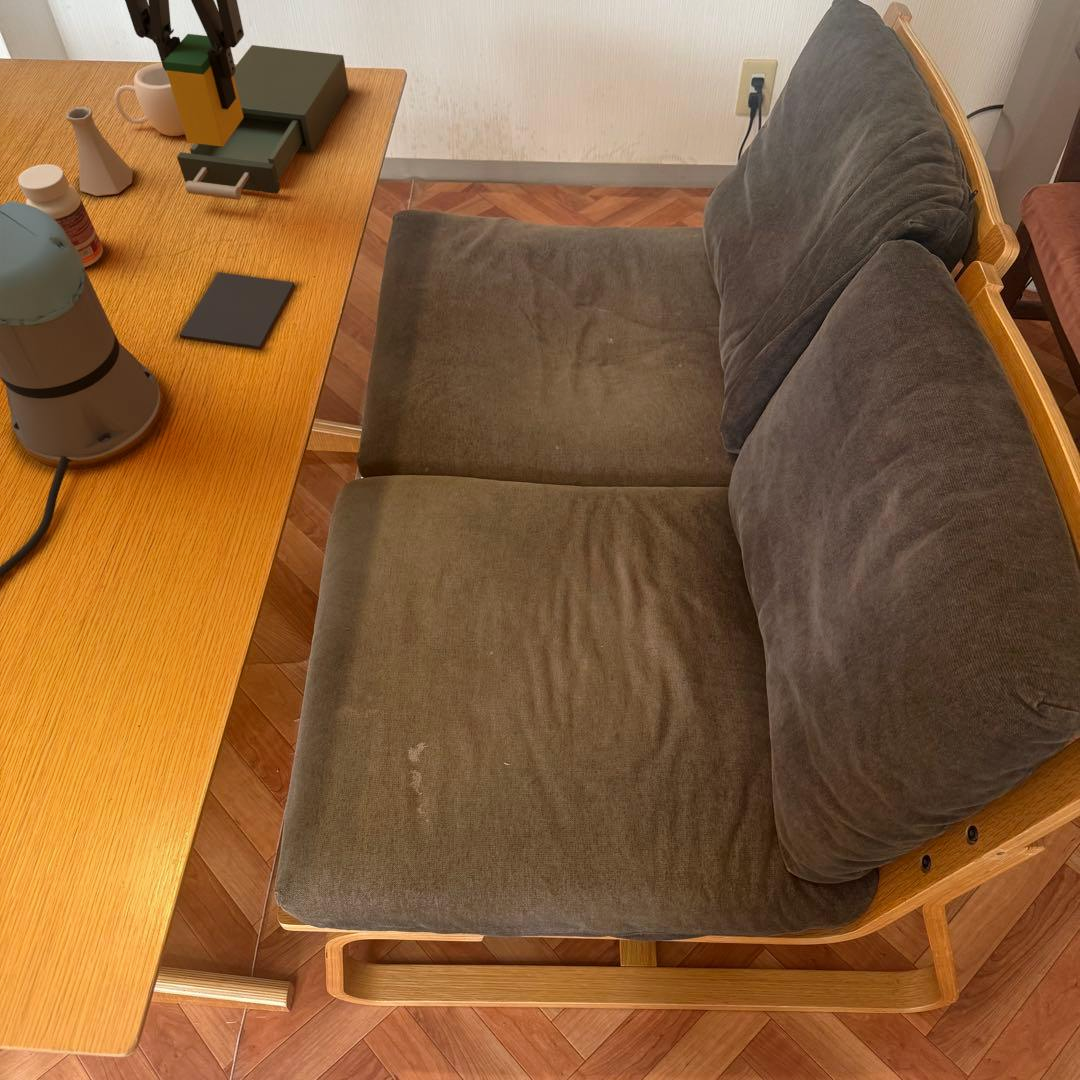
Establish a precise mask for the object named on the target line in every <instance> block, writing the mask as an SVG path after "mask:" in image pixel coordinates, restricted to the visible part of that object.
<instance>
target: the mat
mask: <svg viewBox="0 0 1080 1080" xmlns="http://www.w3.org/2000/svg"><path fill="white" fill-rule="evenodd" d="M295 285H296V284H295V282H293V281H286V280H280V279H279V280H278V279H272V278H264V277H256V276H251V275H242V274H235V273H227V272H217V274H216V276H215V277H214V278H213V280H212V282H211V283H210V285H209V287H208V288H207V290H206V291H205V292H204V295H203V297H202V298H201V299H200V301H199V303H198V304H197V305H196V307H195V308H194V311H193V312H192V314H191V315H190V317H189V318H188V320H187V322H186V323H185V325H184V326H183V328H182V330H181V331H180V333H179V338H180V339H186V340H193V341H201V342H206V343H214V344H220V345H226V346H228V345H229V346H234V347H241V348H247V349H255V350H261V349H262V347H263V345H264V343H265V341H266V339H268V338H267V337H268V336H269V334H270V332H271V330H272V328H273V327H274V325H275V323H276V321H277V319H278V318H279V315H280V314H281V312H282V310H283V308H284V306H285V304H286V302H287V301H288V299H289V297H290V295H291V293H292V292H293V290H294V288H295Z"/></svg>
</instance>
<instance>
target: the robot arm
mask: <svg viewBox="0 0 1080 1080" xmlns="http://www.w3.org/2000/svg"><path fill="white" fill-rule="evenodd" d="M190 1H191V4H192V6H193V9H194V10H195V12H196V14H197V17H198V19H199V21H200V23H201V25H202V28H203V30H204V32H205V34H206V36H208V38H209V41H210V43H211V45H212V47H211V48H210V49H209V50H208V52H207V54H208V57H209V61H210V64H211V68H212V72H213V76H214V80H215V84H216V87H217V91H218V95H219V99H220V103H221V107H222V109H229V107H230V106H231V105H232V103H233V102H234V100H235V99H236V95H235V91H234V87H233V83H232V79H231V78H232V76H233V75H234V74H235V70H236V68H235V66H236V64H235V60H234V57H233V52H232V48H236V47H237V45H238V44H239V42H240V41H241V40H242V39H243V38H244V36H245V31H244V26H243V22H242V18H241V14H240V8H239V4H238V3H239V2H238V0H190ZM124 2H125V5H126V9H127V11H128V14H129V17H130V20H131V23H132V26H133V28H134V29H133V30H134V33H135V34H136V35H137V37H139V38H143V39H144V38H147V39H149V40H151V41H152V42H153V44H155V46H156V49H157V52H158V55H159V58H160V63H161V62H162V65H163V68H164V69H165V71H166V68H165V65H164V60H165V59H166V58H167V57H168V56H169V55H170V54H171V52H172V51H173V50H174V49H175V48H176V47H177V46H178V45H179V43H180V42H181V38H180V37H179V36H172V37H171V35H172V34H173V33H174V31H175V29H174V28H172V24H171V12H170V11H171V9H170V0H124ZM0 379H1V381H2V383H3V384H4V385H5V390H6V398H7V402H8V403H7V404H8V408H9V411H10V421H11V426H12V431H13V434H14V436H15V437H16V438H17V440H18V441H19V443H20V445H21V446H22V448H23V449H24V450H25V452H26V453H27V454H28V455H29V456H30V457H32V458H33V459H34V460H36V461H37V462H39V463H42V464H44V465H48V466H51V467H55V468H56V471H55V473H54V476H53V479H52V483H51V486H50V489H49V491H48V495H47V499H46V503H45V507H44V513H43V516H42V519H41V522H40V523H39V525H38V527H37V528H36V530H35V532H34V533H33V535H32V536H31V537H30V538H29V540H28V541H27V542H26V543H25V544H24V545H23V546H22V547H21V548H20V549H19V550H18V551H17V552H15V554H13V555H12V556H11V557H10V558H9V559H7V560H6V561H5V562H3V564H1V565H0V580H1V579H2V578H3V577H4V576H6V574H8V572H10V571H11V570H12V569H13V568H14V567H16V566H17V565H18V564H19V563H20V562H22V561H23V560H24V559H25V558H26V557H27V556H28V555H29V554H30V553H31V552H32V551H33V550H34V549H36V547H37V546H38V545H39V543H40V542H41V541H42V540H43V539H44V536H45V535H46V534H47V532H48V530H49V528H50V526H51V523H52V520H53V519H54V514H55V510H56V505H57V499H58V496H59V492H60V491H61V490H60V489H61V487H62V483H63V480H64V477H65V474H66V471H67V469H85V468H91V467H97V466H100V465H104V464H108V463H111V462H113V461H116V460H117V459H120V458H122V457H124V456H126V455H128V454H129V453H131V452H133V451H134V450H136V449H138V447H140V446H141V445H142V444H143V443H145V442H146V441H147V440H148V439H149V438H150V437H151V436H152V435H153V433H154V432H155V431H156V430H157V428H158V426H159V424H160V423H161V421H162V418H163V415H164V410H165V399H164V394H163V392H162V390H161V388H160V385H159V383H158V381H157V379H156V377H155V376H154V374H153V373H152V372H151V371H150V370H149V369H148V368H147V367H146V366H145V365H144V364H142V363H141V362H140V361H139V360H138V358H136V357H135V356H134V355H133V353H131V352H130V351H129V350H128V349H127V348H126V347H125V346H124V345H123V344H121V342H120V341H119V339H118V337H117V335H116V333H115V331H114V329H113V327H112V324H111V322H110V320H109V318H108V316H107V314H106V312H105V309H104V307H103V305H102V302H101V301H100V299H99V297H98V295H97V291H96V290H95V287H94V286H93V284H92V282H91V280H90V277H89V275H88V272H87V271H86V269H85V267H84V265H83V262H82V259H81V257H80V255H79V253H78V251H77V249H76V247H75V246H74V245H73V244H72V243H71V240H70V239H69V238H68V236H67V235H66V233H65V231H64V230H63V228H62V227H61V226H60V225H59V224H58V222H57V221H56V220H54V219H53V218H52V217H51V216H50V215H48V214H47V213H45V212H43V211H42V210H40V209H38V208H35V207H33V206H30V205H27V204H26V203H24V202H20V201H19V202H18V201H13V200H8V201H6V202H5V203H3V204H1V203H0Z"/></svg>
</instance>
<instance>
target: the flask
mask: <svg viewBox="0 0 1080 1080" xmlns="http://www.w3.org/2000/svg"><path fill="white" fill-rule="evenodd" d="M65 115H66V116H65V118H66V121H68V122H70V124H71V126H72V129H73V131H74V135H75V139H76V144H77V151H78V152H77V155H78V175H79V176H78V177H79V178H78V179H79V180H78V181H79V191H80V192H83V193H86V194H90V195H93V196H96V197H98V196H108V195H116V194H119V193H121V192H123V191H124V190H125V189H126V188H127V187H129V186H130V185H131V184H132V183H133V174H134V171H133V170H132V168H131V167H130V166H129V165H128V163H126V162H125V161H124V159H123V158H122V157H121V156H120V155H119V154H118V153H117V152H116V150H115V149H114V148H113V147H112V146H111V145H110V143H109V142H108V140H106V139H105V138H104V136H103V134H102V133H101V131H100V130H99V128H98V126H97V125H96V123H95V120H94V118H93V109H92V108H90V107H86V106H77V107H72V108H71V109H69V110H68V111H66V114H65Z"/></svg>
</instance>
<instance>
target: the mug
mask: <svg viewBox="0 0 1080 1080" xmlns="http://www.w3.org/2000/svg"><path fill="white" fill-rule="evenodd" d="M125 91H130V92H135V95H136V98H137V101H138V104H139V106H140V109H141V111H142V112H143V114H144V116H143V117H140V118H136V117H135V118H134V117H132V116H129V115H128V114H127V113H126V111H125V110H124V109H123V107H122V104H121V95H122V93H123V92H125ZM114 103H115V106H116V109H117V111H118V114H120V116H121V117H122V118H123V119H124V120H125V121H127V122H129V123H131V124H134V125H141V124H144V123H146V122H148V123H149V124H150V125H151V126H152V127H153V129H155V130H156V131H157V132H159V133H161V134H162V135H164V136H169V137H180V136H186V135H185V131H184V128H183V125H182V121H181V118H180V115H179V111H178V108H177V105H176V102H175V98H174V95H173V92H172V88H171V85H170V82H169V78H168V75H167V72H166V71H165V69H164V68H163V65H162V62H161V61H160V62H156V63H152V64H148V65H146V66H144V67H142V68H140V69H139V70H137V72H136V73H135V75H134V79H133V85H130V84H124V85H122V86H119V87H118V88H117V89H116V90H115V93H114Z"/></svg>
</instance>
